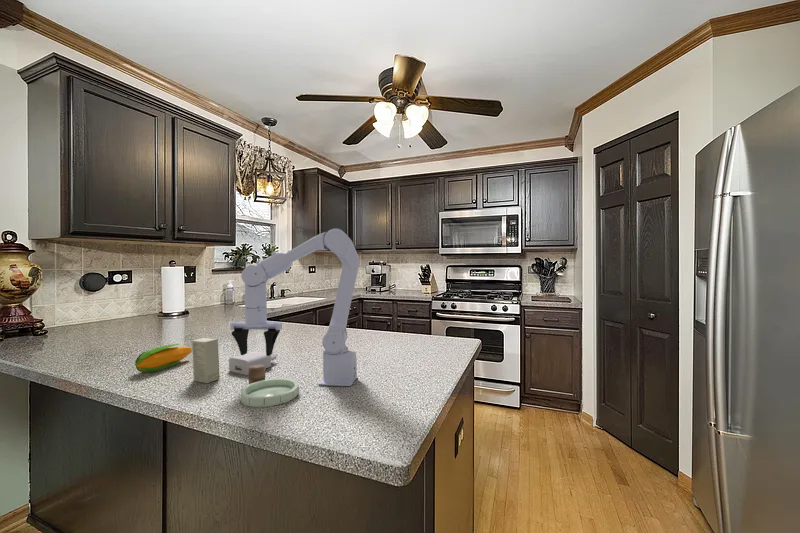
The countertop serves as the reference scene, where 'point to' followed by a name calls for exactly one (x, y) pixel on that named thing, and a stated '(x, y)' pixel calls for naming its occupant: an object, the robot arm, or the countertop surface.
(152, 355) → the corn
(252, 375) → the walnut bead
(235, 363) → the charger
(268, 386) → the round tray
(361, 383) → the countertop surface
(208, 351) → the skincare box
